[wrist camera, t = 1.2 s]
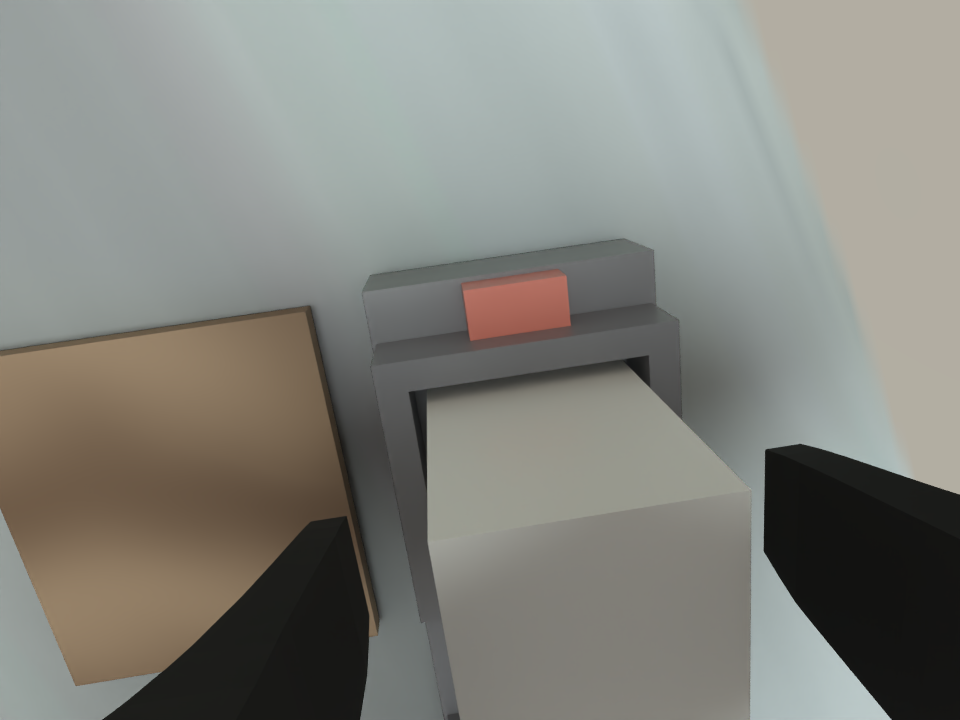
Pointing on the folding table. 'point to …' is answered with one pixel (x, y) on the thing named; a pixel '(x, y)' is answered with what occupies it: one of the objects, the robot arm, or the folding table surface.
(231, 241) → the folding table surface
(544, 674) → the block
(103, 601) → the walnut board
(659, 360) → the power strip
